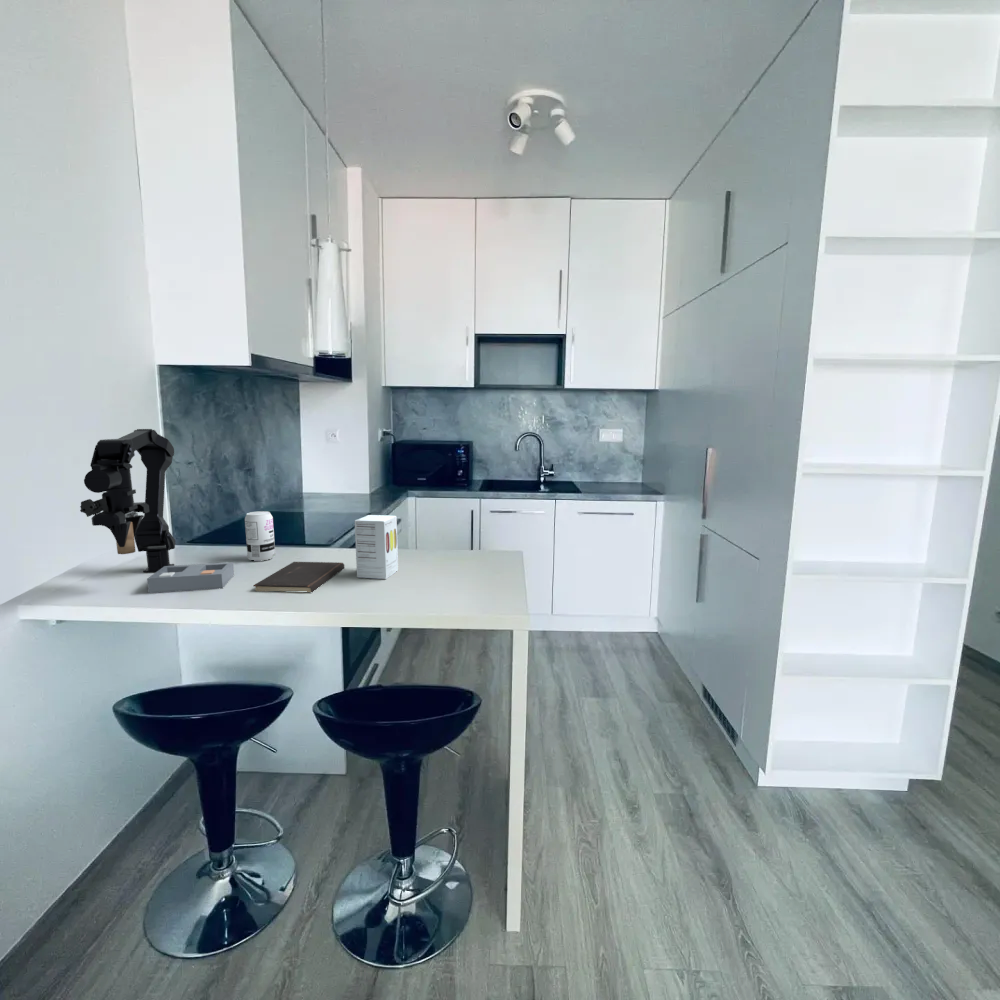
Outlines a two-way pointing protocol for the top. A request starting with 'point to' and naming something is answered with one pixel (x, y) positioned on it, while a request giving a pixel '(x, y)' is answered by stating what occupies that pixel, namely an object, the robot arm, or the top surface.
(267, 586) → the hardcover book
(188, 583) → the socket block
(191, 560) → the top surface
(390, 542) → the supplement box
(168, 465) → the robot arm
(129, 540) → the walnut peg
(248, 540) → the supplement can
